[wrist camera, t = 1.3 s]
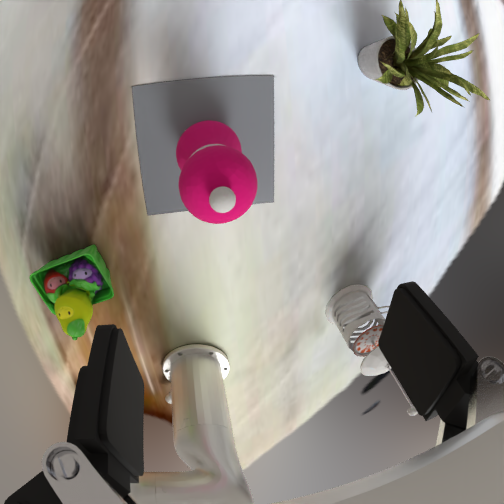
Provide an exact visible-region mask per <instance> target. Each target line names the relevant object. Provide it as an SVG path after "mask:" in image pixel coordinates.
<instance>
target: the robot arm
mask: <svg viewBox="0 0 504 504" xmlns="http://www.w3.org/2000/svg"><path fill="white" fill-rule="evenodd" d="M378 345H379V348H380V350H381V352H382V354H383V355H384V357H385V358H386V360H387V362H388V363H389V365H390V367H391V368H392V370H393V372H394V373H395V375H396V376H397V378H398V380H399V381H400V383H401V385H402V387H403V388H404V390H405V391H406V393H407V395H408V397H409V398H410V400H411V402H412V404H413V405H414V407H415V409H416V410H417V412H418V414H419V415H421V416H423V417H424V419H425V420H426V421H427V420H429V419H432V418H434V417H436V416H437V415H439V416H440V418H441V421H440V426H439V432H438V437H437V442H436V446H435V447H433V448H432V449H430V450H427V451H425V452H423V453H421V454H420V455H417V456H415V457H413V458H411V459H409V460H406V461H404V462H402V463H400V464H398V465H395V466H393V467H390V468H388V469H386V470H383V471H381V472H378V473H375V474H373V475H370V476H367V477H365V478H362V479H359V480H357V481H354V482H351V483H348V484H345V485H341V486H338V487H335V488H332V489H329V490H325V491H322V492H318V493H315V494H311V495H307V496H303V497H299V498H295V499H291V500H287V501H282V502H277V503H272V504H504V364H503V362H501V361H500V360H498V359H497V358H494V357H484V358H483V359H481V360H480V362H479V363H478V362H477V361H476V360H477V358H478V355H477V354H476V352H475V351H474V350H473V349H472V347H471V346H470V345H469V344H468V342H467V341H466V340H465V339H464V337H463V336H462V335H461V334H460V333H459V331H458V330H457V329H456V328H455V327H454V325H453V324H452V323H451V322H450V321H449V320H448V318H447V317H446V316H445V315H444V314H443V313H442V311H441V310H440V309H439V308H438V307H437V306H436V305H435V303H434V302H433V301H432V300H431V299H430V298H429V297H428V296H427V294H426V293H425V292H424V291H423V290H422V289H421V288H420V287H419V286H418V285H417V284H416V283H415V282H408V283H403V284H400V285H399V286H398V287H397V289H396V290H395V291H394V294H393V297H392V301H391V304H390V307H389V310H388V314H387V317H386V320H385V323H384V326H383V329H382V332H381V335H380V338H379V341H378ZM229 368H230V366H229V361H228V358H227V356H226V355H225V354H224V353H223V352H222V351H220V350H219V349H217V348H214V347H212V346H208V345H201V344H191V345H185V346H182V347H179V348H176V349H174V350H173V351H171V352H170V353H169V354H168V355H167V356H166V357H165V359H164V361H163V373H164V375H165V377H166V378H167V379H168V380H169V381H170V382H171V392H169V394H168V395H167V396H166V397H165V399H166V401H167V402H168V403H172V417H173V434H174V446H175V449H176V452H177V454H178V455H179V457H180V458H181V459H182V461H183V462H184V463H185V464H186V465H187V466H188V467H189V468H191V469H192V470H193V471H186V472H144V461H143V410H144V383H143V379H142V377H141V374H140V372H139V370H138V368H137V365H136V363H135V361H134V358H133V356H132V353H131V351H130V348H129V346H128V343H127V341H126V338H125V336H124V333H123V331H122V329H121V328H120V329H117V327H116V326H115V325H114V324H112V325H98V326H97V328H96V331H95V335H94V339H93V343H92V348H91V352H90V357H89V361H88V366H83V367H82V368H81V369H80V371H79V375H78V380H77V384H76V389H75V394H74V400H73V405H72V411H71V417H70V424H69V430H68V436H67V442H60V443H56V444H54V445H52V446H51V447H49V448H48V449H47V450H46V452H45V454H44V455H43V459H42V470H43V471H42V472H40V473H39V474H38V475H37V476H35V477H34V478H33V479H31V480H30V481H29V482H28V483H26V484H25V485H24V486H22V487H21V488H20V489H19V490H17V491H16V492H15V493H13V494H12V495H11V496H9V497H8V499H7V500H6V501H5V503H4V504H254V500H253V496H252V493H251V490H250V487H249V485H248V483H247V480H246V478H245V475H244V473H243V470H242V468H241V465H240V461H239V458H238V454H237V450H236V446H235V441H234V436H233V430H232V425H231V419H230V414H229V408H228V403H227V397H226V392H225V386H224V380H223V379H224V378H225V377H226V376H227V374H228V372H229Z"/></svg>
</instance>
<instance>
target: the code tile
mask: <svg viewBox="0 0 504 504" xmlns="http://www.w3.org/2000/svg"><path fill="white" fill-rule="evenodd" d="M132 93H133V105H134V116H135V126H136V135H137V144H138V153H139V160H140V168H141V175H142V182H143V189H144V195H145V202H146V208H147V214H148V215H156V214H164V213H172V212H181V211H188V209H187V208H186V207H185V205H184V204H183V202H182V200H181V196H180V192H179V176H180V173H181V170H180V168H179V166H178V163H177V158H176V147H177V143H178V141H179V139H180V137H181V135H182V134H183V133H184V132H185V131H186V129H187V128H189V127H190V126H192V125H193V124H196V123H198V122H201V121H208V120H211V121H218V122H221V123H223V124H226V125H227V126H229V127H230V128H231V129H232V130H233V131H234V132H235V133H236V135H237V137H238V139H239V141H240V144H241V149H242V154H244V155H245V156H246V157H247V158H248V159H249V160H250V162H251V163H252V165H253V167H254V169H255V172H256V176H257V193H256V196H255V199H254V201H253V203H252V204H259V203H271V202H274V76H230V77H211V78H198V79H186V80H177V81H168V82H160V83H152V84H146V85H139V86H133V87H132Z"/></svg>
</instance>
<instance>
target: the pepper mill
mask: <svg viewBox="0 0 504 504" xmlns="http://www.w3.org/2000/svg"><path fill="white" fill-rule="evenodd" d="M176 158H177V163H178V166H179V168H180V170H181V173H180V176H179V192H180V196H181V200H182V202H183V204H184V205H185V207H186V208H187V209H188V211H189V212H190V213H191V214H193V215H194V216H195V217H196V218H198V219H200V220H202V221H205V222H208V223H214V224H220V223H226V222H230V221H232V220H235V219H237V218H239V217H240V216H242V215H243V214H244V213H245V212H246V211H247V210H248V209H249V208H250V206H251V205H252V203H253V201H254V199H255V196H256V193H257V176H256V172H255V169H254V167H253V165H252V163H251V162H250V160H249V159H248V158H247V157H246V156H245V155H244V154H242V149H241V144H240V141H239V139H238V137H237V135H236V133H235V132H234V131H233V130H232V129H231V128H230V127H229V126H227V125H226V124H223V123H221V122H218V121H211V120H208V121H201V122H198V123H196V124H193V125H192V126H190V127H189V128H187V129H186V131H185V132H184V133H183V134H182V135H181V137H180V139H179V141H178V143H177V147H176Z"/></svg>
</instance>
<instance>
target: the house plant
mask: <svg viewBox="0 0 504 504" xmlns="http://www.w3.org/2000/svg"><path fill="white" fill-rule="evenodd" d="M395 14H396V13H395ZM382 16H383V15H382ZM383 19H384V22H385V24H386V26H387V28H388V29H389V31H390V32H391V34H392V35H393V36H391V37H388V38H385V39H382V40H380V41H377V42H375V43H372V44H370V45H368V46H365V47H364V48H363V49H362V50H361V51H360V52H359V55H358V65H359V68H360V70H361V72H362V73H363V74H364V75H365V76H366V77H368V78H370V79H372V80H375V81H377V82H380V83H382V84H385V85H387V86H390V87H392V88H395V89H399V90H406V89H409V88H411V87H413V89H414V92H415V97H416V103H417V110H418V111H417V115H418V114H420V113H421V112H422V111H423V108H424V103H423V99H422V96H421V93H420V91H419V89H418V87H417V86H416V83H417V84H418V85H419V87H420V89H421V92H422V94H423V95H424V97H425V99H426V101H427V103H428V105H429V107H430V104H429V101H428V99H427V97H426V95H425V94H424V92H423V90H422V88H421V86H420V84H419V83H418V82H417V81H418V79H419V80H421V81H422V82H424V83H426V84H427V85H429V86H430V87H432V88H433V89H435V90H436V91H437V92H438V93H440V94H441V95H443V96H444V97H445V98H447V99H449V100H451V101H452V102H454V103H456V104H458V105H460V106H462V105H461V104H460V103H459V102H458V101H456V100H455V99H454V98H453V97H452V96H451V95H450V94H448V93H447V92H445V91H444V90H442V89H441V87H442V88H443V89H445V90H446V91H448V92H449V93H451V94H453V95H455V96H457V97H459V98H461V99H464V100H467V99H466V98H465V97H463V96H461V95H460V94H459V93H458V92H457V91H455V90H453V89H451V88H449V87H448V84H449V81H450V82H452V83H455V84H457V85H459V86H461V87H463V88H465V90H466V91H467V93H468V94H469V95H470V92H472V93H475V94H477V95H480V96H482V97H483V98H485V99H487V100H490V99H489V98H488V97H487V96H486V95H485V94H484V93H483V92H482V91H481V90H480V89H479V88H477V87H476V86H474V85H473V84H471V83H470V82H468V81H466V80H465V79H463V78H461V77H459V76H457V75H454V74H452V73H451V72H450V71H449V70H448V69H446V68H445V67H443V66H442V65H440V64H436V63H439V62H443V61H450V60H457V59H462V58H465V57H466V56H468V55H469V54H471V53H472V51H473V50H472V51H469V52H466V53H463V54H459V55H454V56H447V57H443V58H438V59H434V58H437V57H439V56H441V55H445V54H448V53H452V52H456V51H459V50H462V49H465V48H467V47H468V46H469V45H470V44H471V43H472V42H473V41H474V40H475V39H476V38H477V37H478V35H479V34H480V33H479V34H477V35H475V36H473V37H471V38H469V39H467V40H465V41H463V42H460V43H457V44H453V45H449V46H445V47H443V48H441V49H439V50H438V46H441V45H443V44H444V43H446V42H447V41H448V40H449V39H450V38H451V36H449V37H446V38H443V39H440V40H438V36H439V34H440V32H441V28H442V19H441V14H440V7H439V3H438V1H437V0H436V12H435V22H434V26H433V29H430V30H429V32H428V36H427V37H426V38H425V40H424V41H423V42H422V43H421V44H420V45H419V46H418V47H417V48H415V45H416V41H417V33H416V31H415V30H414V27H413V25H412V24H411V23H410V22H409V17H408V12H407V10H406V8H405V11H404V8H403V4H402V1H401V0H400V3H399V15H398V14H396V20H397V24H396V23H395V22H394V21H393V20H392V19H390V18H388V17H386V16H383ZM410 41H411V43H410ZM435 47H436V48H435ZM432 48H435V49H434V50H433V51H432V52H431V53H429V54H426V53H427V52H428V51H429V50H430V49H432ZM424 54H426V55H424ZM431 59H433V60H431ZM469 91H470V92H469ZM470 96H471V95H470ZM467 101H468V100H467ZM462 107H463V106H462ZM464 108H465V107H464ZM430 109H431V107H430ZM431 112H432V110H431Z"/></svg>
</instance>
